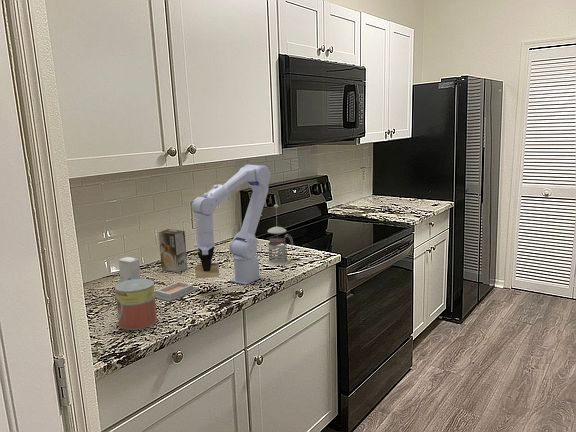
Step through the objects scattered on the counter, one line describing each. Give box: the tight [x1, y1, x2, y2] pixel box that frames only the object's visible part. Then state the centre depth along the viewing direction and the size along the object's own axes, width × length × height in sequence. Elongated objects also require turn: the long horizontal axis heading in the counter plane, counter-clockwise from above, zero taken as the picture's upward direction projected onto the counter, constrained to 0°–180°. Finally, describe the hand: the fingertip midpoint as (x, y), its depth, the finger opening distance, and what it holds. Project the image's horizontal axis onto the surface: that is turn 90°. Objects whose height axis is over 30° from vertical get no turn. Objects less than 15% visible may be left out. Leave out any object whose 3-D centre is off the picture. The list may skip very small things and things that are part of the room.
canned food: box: [114, 277, 158, 331], centre depth 142 cm, size 11×11×12 cm
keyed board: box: [154, 281, 200, 303], centre depth 167 cm, size 14×10×2 cm
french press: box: [266, 203, 294, 266], centre depth 198 cm, size 10×12×25 cm
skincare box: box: [118, 256, 141, 283], centre depth 169 cm, size 6×4×12 cm
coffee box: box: [158, 228, 188, 273], centre depth 193 cm, size 9×6×16 cm
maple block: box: [194, 262, 220, 279], centre depth 166 cm, size 4×8×4 cm, turn 97°
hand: (207, 269), depth 166 cm, fingers closed on maple block, 4 cm apart
